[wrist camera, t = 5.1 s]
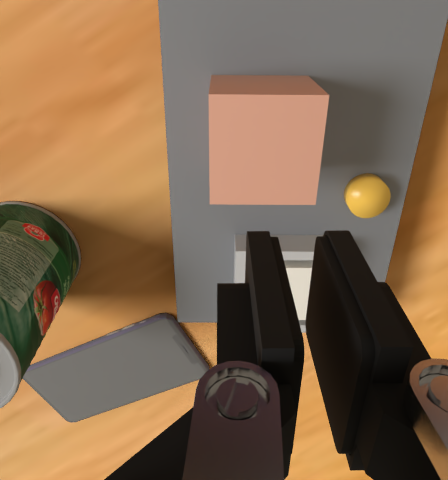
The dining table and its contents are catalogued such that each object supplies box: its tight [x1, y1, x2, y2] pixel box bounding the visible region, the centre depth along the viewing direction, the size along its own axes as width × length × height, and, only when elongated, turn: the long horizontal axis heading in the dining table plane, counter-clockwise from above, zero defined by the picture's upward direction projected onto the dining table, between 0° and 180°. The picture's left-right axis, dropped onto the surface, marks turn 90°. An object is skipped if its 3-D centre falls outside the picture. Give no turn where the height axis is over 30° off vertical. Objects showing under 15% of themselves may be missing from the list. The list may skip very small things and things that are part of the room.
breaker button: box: [284, 260, 313, 320], centre depth 27 cm, size 4×4×2 cm
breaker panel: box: [158, 0, 448, 332], centre depth 26 cm, size 14×20×5 cm
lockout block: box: [209, 75, 329, 205], centre depth 21 cm, size 5×5×5 cm
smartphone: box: [23, 313, 209, 422], centre depth 37 cm, size 8×1×15 cm
